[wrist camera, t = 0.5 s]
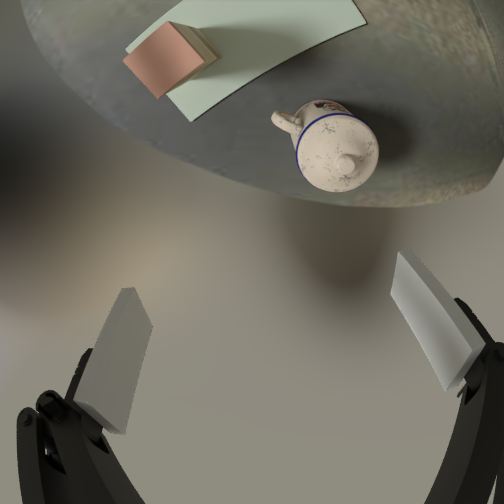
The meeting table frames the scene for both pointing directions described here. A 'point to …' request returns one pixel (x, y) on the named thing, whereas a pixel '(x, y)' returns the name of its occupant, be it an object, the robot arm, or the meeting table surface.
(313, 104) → the teacup with lid
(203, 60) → the oak block
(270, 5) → the rubber mat
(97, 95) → the meeting table surface
